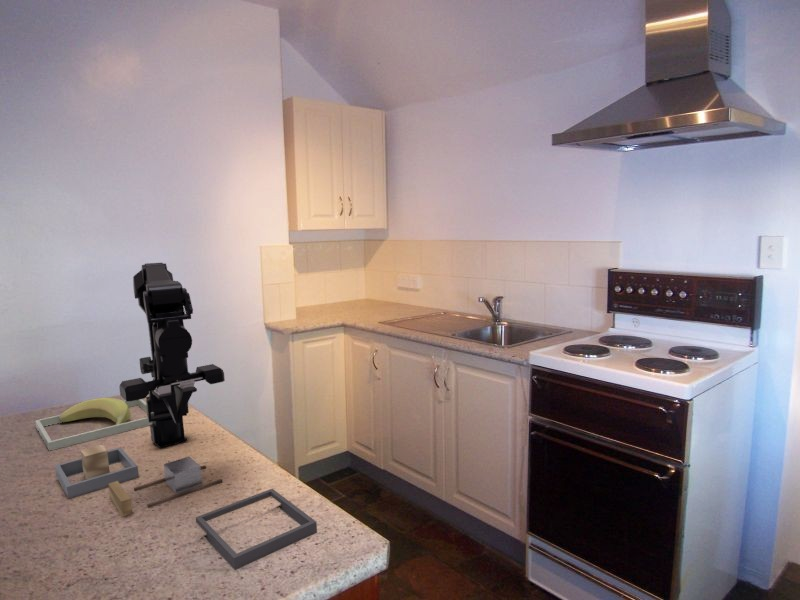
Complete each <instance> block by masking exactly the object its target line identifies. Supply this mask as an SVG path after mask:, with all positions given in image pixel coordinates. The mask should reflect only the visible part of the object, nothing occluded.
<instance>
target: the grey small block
mask: <svg viewBox="0 0 800 600" xmlns="http://www.w3.org/2000/svg"><path fill="white" fill-rule="evenodd" d="M163 468H164V478H165V480H166V481H165V484H166V485H167V486H168V487H169V488H170V489H171V490H172V491H173V493H174V494H175V495H176V494H179V493H182V492H185V491H188V490H191V489H193V488H196V487H199V486H202V485H203V480H202V470H201V465H200V464H198V462H196V461H195V460H194V459H193V458H192V457H191V456H186V457H183V458H180V459H179V458H178V459H176V460H172V461H169V462H166V463H164V464H163Z"/></svg>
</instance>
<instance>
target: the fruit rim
mask: <svg viewBox="0 0 800 600" xmlns="http://www.w3.org/2000/svg"><path fill="white" fill-rule="evenodd" d="M122 401H123V402H125V403H126V404H127V406H128V408H132V407H137V406H138V407H140V409H142V410H143V411H144V412H146V413H147V409H146V400H144V399H140V400H135V401H126V400H125V399H124V400H122ZM151 413H153V412H151ZM60 415H61V414H57V415H53V416H49V417H45V418H44V417H43V418H41V419H36V420H35V426H36V427H35V428H36V430H37V431H39V432H38V434H39V435H40V438H41V439H42V441H43V440H44V441H43V442H44V444H45V446H46V447H47V449H48V451H49V452H50V450H51V451H53V450H58V449H62V448H66V447H70V446H74V445H77V444H81V443H85V442H89V441H93V440H98V439H101V438H105V437H109V436H113V435H116V434H117V435H118V434H120V433H125V432H128V431H133V430H136V429H140V428H144V427H148V426H149V427H150V425H151V424H152V422H150V423H149V420H148V417H147V416H146V417H143V418H138V419H135V420H131V421H126V422H125V423H122V424H118V425H116V424H114V425H110V426H106V427H103V428H98V429H94V430H90V431H85V432H82V433H78V434H74V435H70V436H66V437H62V438H61V437H60V438H56V439H53V440H52V439H51V437H50V435H49V434H48V432H47V431H46V429H45V427H44V426H46V427H49V426H48V425H50V426H53V425H52V424H54V425H57V423H59V424H63V423H62V422H60V420H59V416H60Z"/></svg>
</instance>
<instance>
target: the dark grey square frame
mask: <svg viewBox="0 0 800 600" xmlns="http://www.w3.org/2000/svg"><path fill="white" fill-rule="evenodd" d="M269 497H272V498H273V499H274V500H276V501H277V502H278V503H279V504H280V505H277V507H278V508H279V510H281V511H282V512H284V513H285V514H286V515H287V516H289V517H290V518H292V519H293V520H294V521H295V522H297V523H298V524H299V526H297V527H295V528H293V529H289V530H288V531H286V532H283V533H281V534H279V535H276V536H274V537H271V538H269V539H267V540H264V541H263V542H260V543H258V544H255V545H253V546H251V547H249V548H247V549H245V550H242V551H239V552H236V551H235V550H234V549H233V548H232V547H231V546H230V545H229V544H228V543H227V542H226V541H225V540H224V538H223V537H222V536H221V535H220V534H218V532H217V531H216V530H215V529H214V528H213V527H212V526H211V525H210V524H209V522H207V521H208V520H211V519H214V518H216V517H219V516H222V515H224V514H226V513H230V512H232V511H234V510H237V509H240V508H243V507H245V506H247V505H250V504H253V503H255V502H258V501H261V500H263V499H266V498H269ZM195 522H196V523H197V524H198V526H199V527H200V528H201V529H202V530H203V531H204V533H206V534H205V535H203V537H204V538H205V539H206V540H207V541H208V542H209V543H210V545H211V546H212V547H213V548H214V549H215V550H216V552H217V553H219V555H220V556H221V557H223V558H224V560H225V561H226V562H227V563H228V564H229V565H230V567H231V568H232V569H233V570H234V571H236V570H238V569H241V568H243V567H245V566H248V565H249V564H252V563H254V562H256V561H259V560H260V559H263V558H265V557H267V556H269V555H272V554H273V553H277V552H278V551H280V550H282V549H285V548H286V547H289V546H291V545H293V544H296V543H298V542H300V541H302V540H305V539H306V538H308V537H310V536H313V535H315V534H318V528H317V527H318V524H317V521H316V520H315V519H314V518H312V517H311V516H309V515H308V514H307V513H305V512H304V510H302V509H300V508H299V507H298V506H296V505H295V504H294V503H292V502H291V501H290V500H288V499H287V498H285V497H284V496H283V495H282V494H280V493H279V492H278V491H276V490H275V489H273V488H270V489H267V490H265V491H262V492H260V493H259V492H258V493H256V494H254V495H251V496H249V497H245V498H244V499H241V500H238V501H236V502H235V501H234V502H233V503H230V504H226V505H224V506H221V507H219V508H216V509H214V510H212V511H209V512H206V513H203V514H201V515H197V516H195Z"/></svg>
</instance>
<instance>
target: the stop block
mask: <svg viewBox="0 0 800 600" xmlns="http://www.w3.org/2000/svg"><path fill="white" fill-rule="evenodd" d="M107 451H108V450H107V448H105V446H104V445H103V444H99V445H95V446H92V447H89V448H88V447H87V448H83V449H80V456H81V457H80V458H82V465H83V473H82V474H83V477H84V480H87V479H90V478H93V477H97V476H100V475H104V474H107V473H110V465H109V462H108V454H107Z"/></svg>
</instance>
